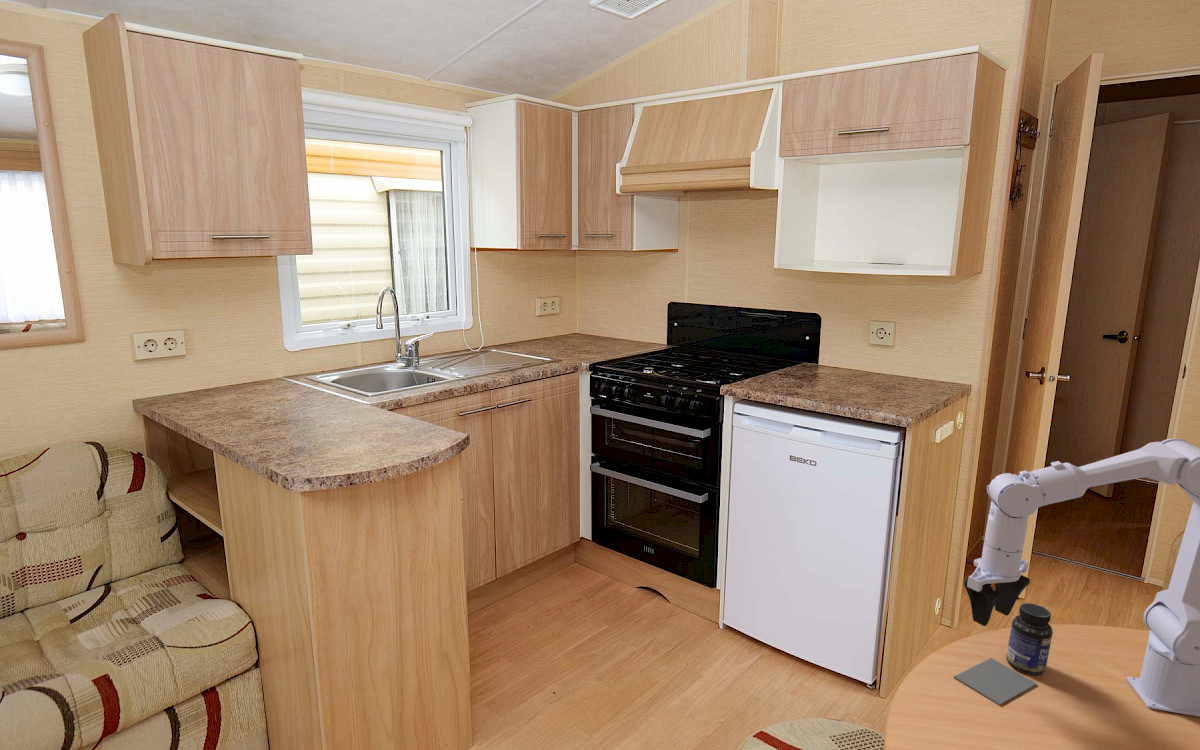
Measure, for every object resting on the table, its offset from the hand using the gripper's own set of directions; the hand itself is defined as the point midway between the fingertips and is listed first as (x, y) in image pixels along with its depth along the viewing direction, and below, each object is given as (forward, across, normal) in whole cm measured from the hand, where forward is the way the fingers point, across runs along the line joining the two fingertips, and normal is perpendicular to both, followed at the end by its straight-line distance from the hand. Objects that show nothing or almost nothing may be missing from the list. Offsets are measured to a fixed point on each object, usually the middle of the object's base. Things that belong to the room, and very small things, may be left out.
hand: (991, 617), depth 120 cm
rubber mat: (+10, +1, +3) cm, 11 cm away
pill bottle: (+11, -8, +3) cm, 14 cm away
